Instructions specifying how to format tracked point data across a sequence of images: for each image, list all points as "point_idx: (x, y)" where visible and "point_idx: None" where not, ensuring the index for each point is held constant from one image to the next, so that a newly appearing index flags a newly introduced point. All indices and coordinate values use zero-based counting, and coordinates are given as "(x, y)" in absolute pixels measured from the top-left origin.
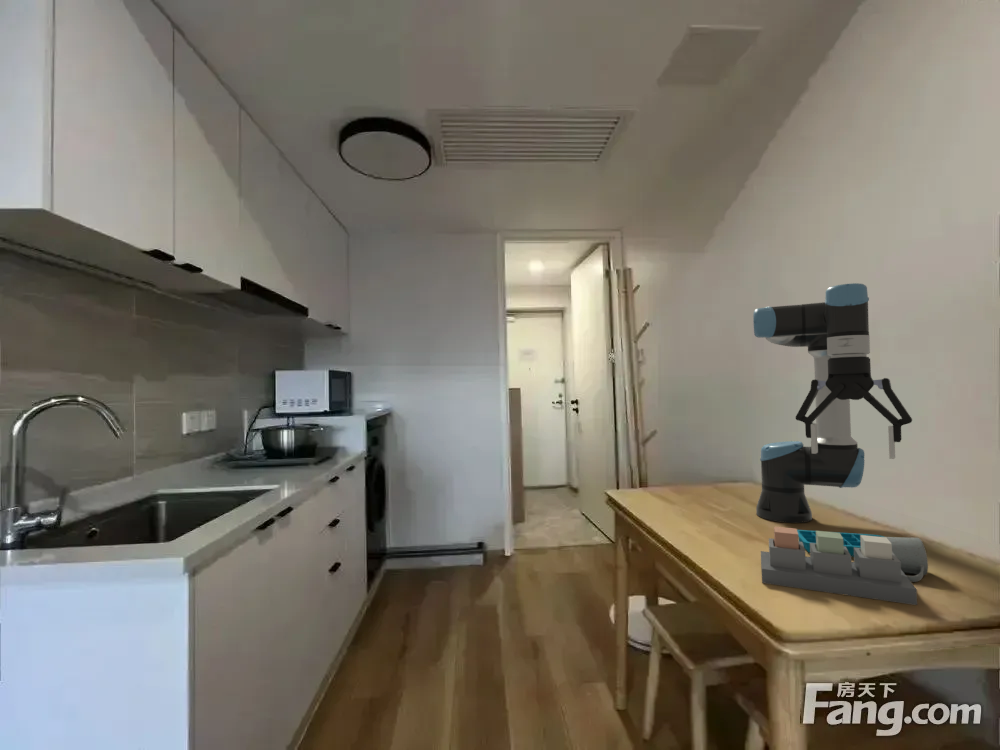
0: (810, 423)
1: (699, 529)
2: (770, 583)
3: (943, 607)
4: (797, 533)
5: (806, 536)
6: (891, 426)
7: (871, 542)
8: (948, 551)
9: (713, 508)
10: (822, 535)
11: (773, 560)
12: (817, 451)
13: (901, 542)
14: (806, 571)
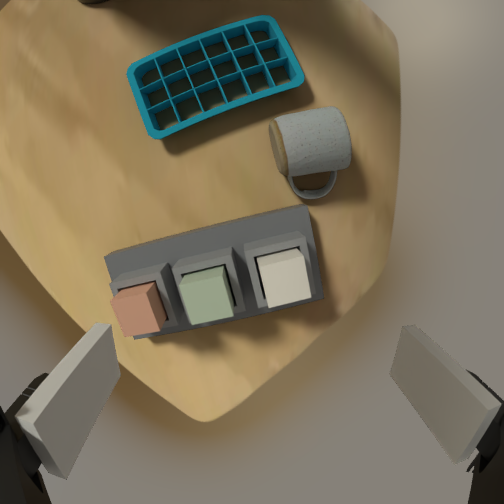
0: (36, 462)
1: (7, 138)
2: None
3: (345, 276)
4: (157, 326)
5: (148, 87)
6: (471, 448)
7: (279, 305)
8: (352, 14)
9: (19, 16)
10: (197, 314)
11: None
12: (110, 338)
13: (318, 154)
14: (185, 316)
